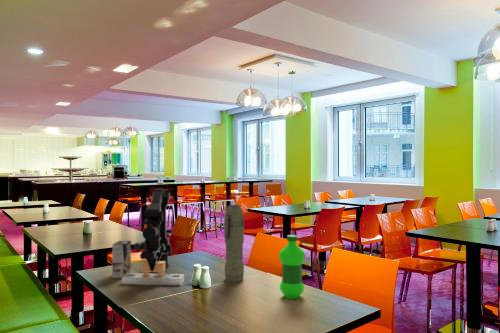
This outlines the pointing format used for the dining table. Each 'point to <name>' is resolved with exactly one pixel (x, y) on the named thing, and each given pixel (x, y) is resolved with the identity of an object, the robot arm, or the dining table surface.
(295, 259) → the plastic bottle
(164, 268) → the tapered peach wedge
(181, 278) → the rail
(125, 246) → the coffee box
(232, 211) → the thermos
